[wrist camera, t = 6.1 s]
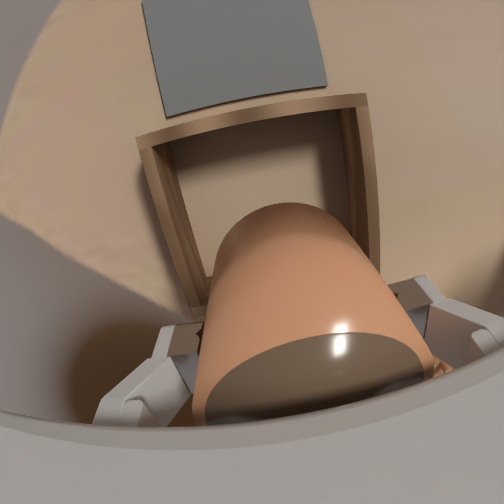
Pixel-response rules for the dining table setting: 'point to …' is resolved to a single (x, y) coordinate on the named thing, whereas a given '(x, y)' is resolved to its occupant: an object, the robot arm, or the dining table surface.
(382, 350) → the peach cylinder
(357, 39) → the dining table surface
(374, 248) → the wooden frame
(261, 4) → the slate mat
